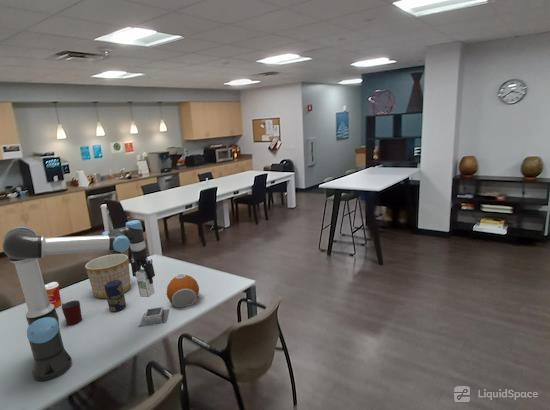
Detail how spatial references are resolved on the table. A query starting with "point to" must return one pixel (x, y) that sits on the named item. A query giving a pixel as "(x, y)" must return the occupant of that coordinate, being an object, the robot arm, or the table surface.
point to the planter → (108, 272)
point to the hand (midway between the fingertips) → (146, 288)
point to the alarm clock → (182, 290)
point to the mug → (72, 312)
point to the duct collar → (154, 316)
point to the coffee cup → (53, 294)
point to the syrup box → (143, 284)
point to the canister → (115, 295)
